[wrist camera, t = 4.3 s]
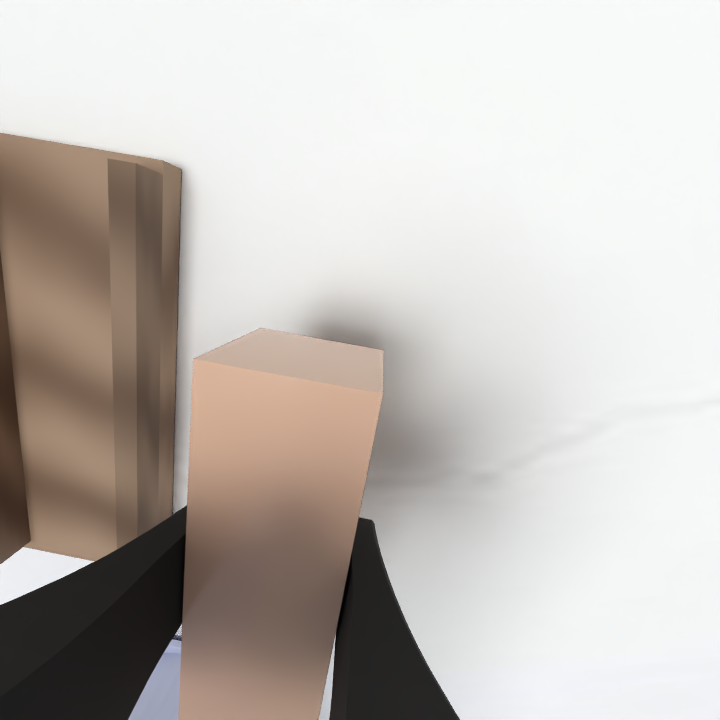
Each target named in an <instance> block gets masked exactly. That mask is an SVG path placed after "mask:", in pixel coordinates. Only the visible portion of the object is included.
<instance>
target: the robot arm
mask: <svg viewBox="0 0 720 720" xmlns="http://www.w3.org/2000/svg"><path fill="white" fill-rule="evenodd" d="M186 522H187V506H185V507H184V508H182V509H181V510H179V511H178V512H176V513H175V514H173V515H172V516H170V517H169V518H167V519H166V520H164V521H162V522H161V523H159V524H158V525H156V526H155V527H153V528H152V529H150V530H149V531H147V532H145V533H144V534H142V535H140V536H139V537H137V538H135V539H134V540H132V541H130V542H129V543H127V544H125V545H124V546H122V547H120V548H119V549H117V550H115V551H113V552H111V553H110V554H108V555H106V556H104V557H102V558H100V559H99V560H97V561H95V562H93V563H91V564H89V565H87V566H85V567H83V568H81V569H79V570H77V571H75V572H73V573H71V574H69V575H67V576H65V577H63V578H61V579H59V580H56V581H54V582H52V583H50V584H47V585H45V586H43V587H41V588H39V589H36V590H34V591H32V592H30V593H27V594H25V595H23V596H21V597H18V598H16V599H14V600H11V601H9V602H7V603H4V604H2V605H0V720H178V712H179V688H180V664H181V641H178V640H173V637H174V635H175V634H176V632H177V630H178V629H179V627H180V626H181V624H182V617H183V593H184V569H185V546H186ZM329 720H460V719H459V717H458V716H457V714H456V713H455V711H454V709H453V708H452V706H451V704H450V702H449V701H448V699H447V697H446V696H445V694H444V692H443V691H442V689H441V687H440V685H439V684H438V682H437V680H436V679H435V677H434V675H433V674H432V672H431V670H430V668H429V666H428V665H427V663H426V661H425V659H424V657H423V655H422V653H421V651H420V649H419V647H418V645H417V643H416V641H415V639H414V637H413V635H412V633H411V631H410V629H409V627H408V624H407V622H406V620H405V618H404V615H403V613H402V611H401V608H400V606H399V603H398V601H397V599H396V596H395V594H394V591H393V588H392V586H391V583H390V580H389V577H388V574H387V571H386V568H385V565H384V562H383V559H382V555H381V552H380V548H379V544H378V540H377V536H376V531H375V524H374V523H373V521H372V520H368V519H363V518H358V523H357V528H356V533H355V538H354V543H353V548H352V553H351V558H350V563H349V568H348V573H347V578H346V583H345V588H344V593H343V598H342V603H341V608H340V613H339V618H338V623H337V628H336V640H335V656H334V672H333V688H332V699H331V710H330V718H329Z"/></svg>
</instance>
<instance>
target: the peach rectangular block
mask: <svg viewBox="0 0 720 720" xmlns="http://www.w3.org/2000/svg"><path fill="white" fill-rule="evenodd" d="M383 365H384V350H380V349H374V348H369V347H363V346H357V345H352V344H346V343H341V342H335V341H330V340H324V339H319V338H313V337H308V336H302V335H297V334H291V333H286V332H280V331H274V330H269V329H263V328H260V329H258V330H255V331H253V332H251V333H249V334H247V335H244V336H242V337H240V338H238V339H236V340H234V341H231V342H229V343H227V344H225V345H223V346H220V347H218V348H216V349H214V350H212V351H210V352H207V353H205V354H203V355H201V356H199V357H196V358H194V359H193V379H192V403H191V427H190V451H189V474H188V498H187V522H186V546H185V569H184V593H183V617H182V641H181V664H180V688H179V712H178V720H318V719H319V714H320V709H321V704H322V699H323V694H324V689H325V684H326V679H327V674H328V669H329V664H330V659H331V654H332V649H333V643H334V638H335V633H336V628H337V623H338V618H339V613H340V608H341V603H342V598H343V593H344V588H345V583H346V578H347V573H348V568H349V563H350V558H351V553H352V548H353V543H354V538H355V533H356V528H357V523H358V518H359V512H360V507H361V502H362V497H363V492H364V487H365V482H366V477H367V472H368V467H369V462H370V457H371V452H372V447H373V442H374V437H375V432H376V427H377V422H378V417H379V412H380V407H381V402H382V397H383Z"/></svg>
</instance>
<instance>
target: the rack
mask: <svg viewBox="0 0 720 720" xmlns="http://www.w3.org/2000/svg"><path fill="white" fill-rule="evenodd" d="M180 200H181V169H179V168H177V167H175V166H173V165H171V164H169V163H167V162H165V161H163V160H157V159H151V158H145V157H139V156H133V155H128V154H122V153H116V152H110V151H104V150H98V149H92V148H86V147H80V146H74V145H68V144H62V143H57V142H51V141H45V140H39V139H33V138H27V137H21V136H15V135H9V134H3V133H0V564H1V563H3V562H4V561H5V560H7V559H8V558H9V557H10V556H12V555H13V554H14V553H16V552H17V551H18V550H20V549H21V548H22V547H27V548H32V549H37V550H41V551H46V552H51V553H56V554H61V555H66V556H71V557H76V558H81V559H86V560H91V561H97V560H99V559H100V558H102V557H104V556H106V555H108V554H110V553H111V552H113V551H115V550H117V549H119V548H120V547H122V546H124V545H125V544H127V543H129V542H130V541H132V540H134V539H135V538H137V537H139V536H140V535H142V534H144V533H145V532H147V531H149V530H150V529H152V528H153V527H155V526H156V525H158V524H159V523H161V522H162V521H164V520H166V519H167V518H169V517H170V516H172V497H173V460H174V423H175V386H176V349H177V312H178V275H179V238H180Z"/></svg>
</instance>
